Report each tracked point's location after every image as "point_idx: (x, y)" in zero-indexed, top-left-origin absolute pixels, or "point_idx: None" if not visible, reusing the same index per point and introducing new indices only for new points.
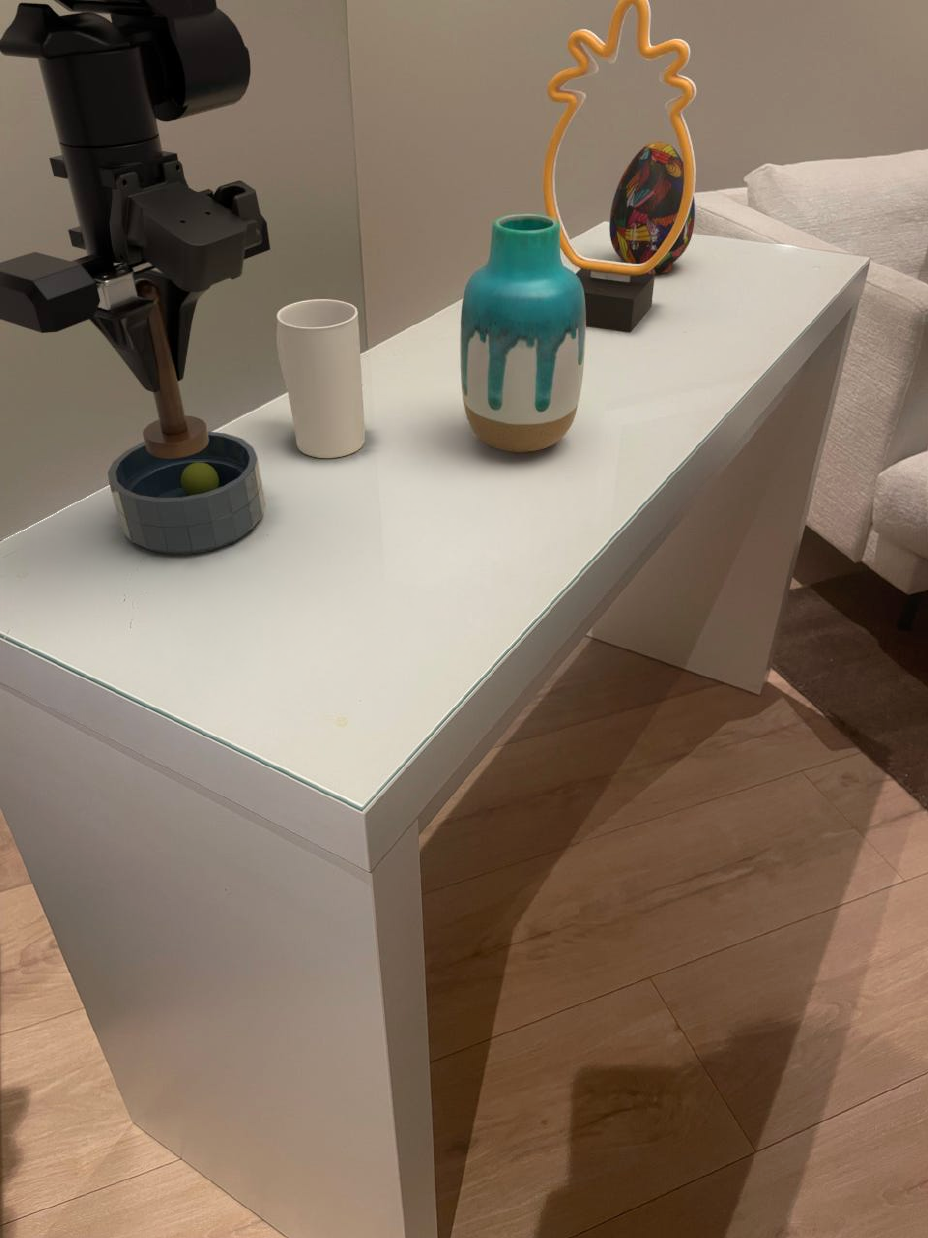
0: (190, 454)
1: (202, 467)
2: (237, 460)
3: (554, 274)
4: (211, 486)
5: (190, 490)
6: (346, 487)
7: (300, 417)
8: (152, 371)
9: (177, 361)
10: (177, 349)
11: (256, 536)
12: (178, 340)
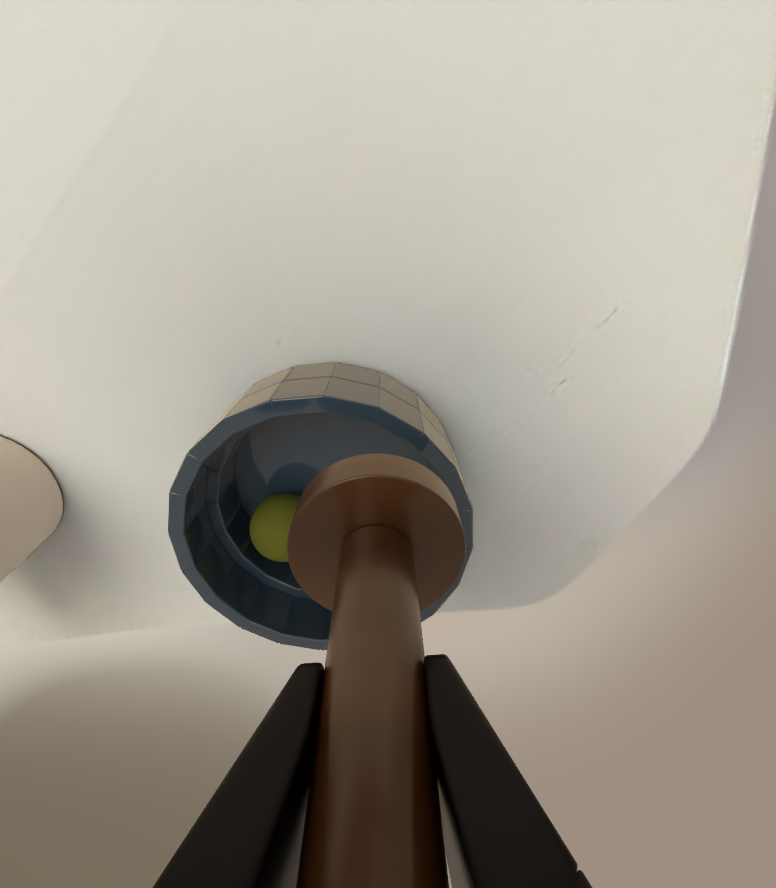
0: (398, 456)
1: (274, 535)
2: (203, 513)
3: None
4: (282, 498)
5: None
6: (59, 348)
7: (4, 536)
8: (466, 733)
9: (306, 737)
10: (285, 801)
11: (296, 355)
12: (262, 860)
